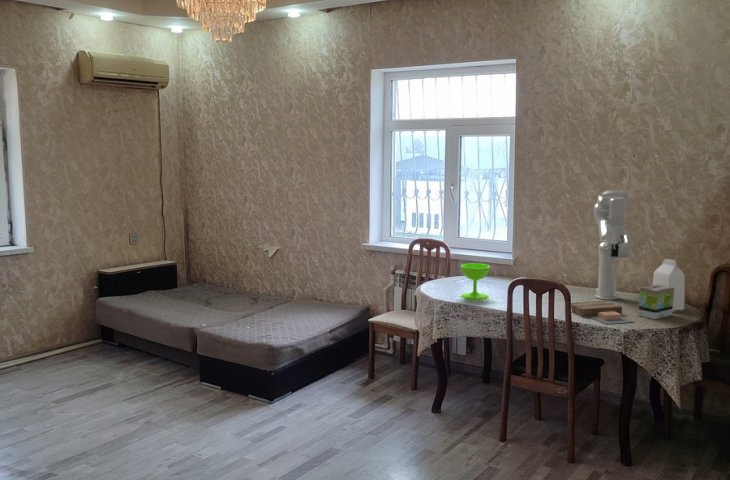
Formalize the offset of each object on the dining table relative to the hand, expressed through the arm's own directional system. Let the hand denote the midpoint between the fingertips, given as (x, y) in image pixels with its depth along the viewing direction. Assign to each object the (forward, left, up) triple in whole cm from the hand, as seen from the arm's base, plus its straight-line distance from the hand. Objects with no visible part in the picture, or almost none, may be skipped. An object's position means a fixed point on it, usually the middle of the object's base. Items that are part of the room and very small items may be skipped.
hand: (614, 256), depth 351 cm
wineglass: (-38, -62, -27) cm, 78 cm away
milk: (+10, +26, -27) cm, 39 cm away
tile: (+22, -16, -25) cm, 37 cm away
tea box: (+22, +10, -27) cm, 37 cm away
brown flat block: (+9, -16, -27) cm, 33 cm away
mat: (+24, -16, -27) cm, 40 cm away
